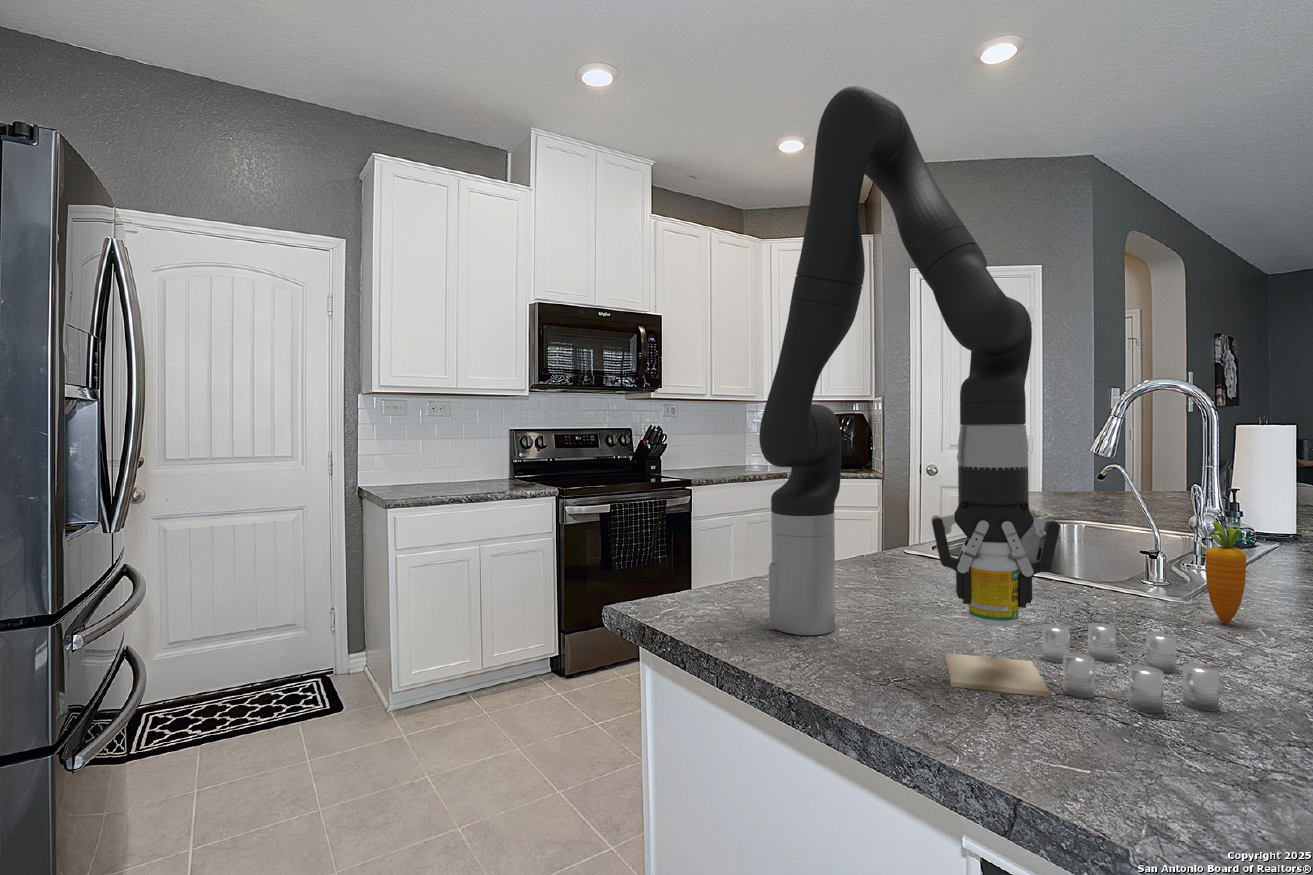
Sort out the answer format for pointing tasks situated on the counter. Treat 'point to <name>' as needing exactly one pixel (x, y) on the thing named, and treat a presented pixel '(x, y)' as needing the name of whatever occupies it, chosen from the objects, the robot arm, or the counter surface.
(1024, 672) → the pad
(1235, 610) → the carrot
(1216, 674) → the spacer posts
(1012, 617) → the supplement bottle
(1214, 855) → the counter surface
